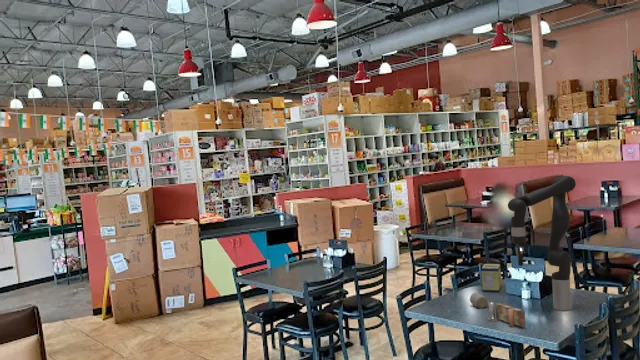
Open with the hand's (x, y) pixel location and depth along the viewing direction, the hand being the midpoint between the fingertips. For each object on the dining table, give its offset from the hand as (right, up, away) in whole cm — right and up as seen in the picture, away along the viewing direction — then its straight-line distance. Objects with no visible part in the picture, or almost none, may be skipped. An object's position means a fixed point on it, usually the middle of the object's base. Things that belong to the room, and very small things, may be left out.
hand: (520, 265), depth 296 cm
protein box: (+1, -25, +53) cm, 58 cm away
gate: (-11, -28, -15) cm, 33 cm away
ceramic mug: (-17, -28, +18) cm, 37 cm away
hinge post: (-18, -29, -7) cm, 35 cm away
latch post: (-12, -29, -19) cm, 37 cm away
